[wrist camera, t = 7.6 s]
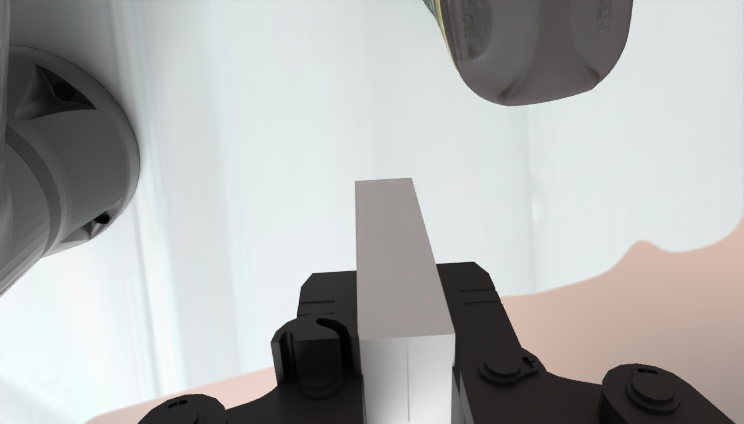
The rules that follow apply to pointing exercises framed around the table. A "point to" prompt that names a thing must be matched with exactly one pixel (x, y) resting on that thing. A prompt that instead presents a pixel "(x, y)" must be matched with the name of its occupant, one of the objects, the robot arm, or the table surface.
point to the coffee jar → (532, 45)
